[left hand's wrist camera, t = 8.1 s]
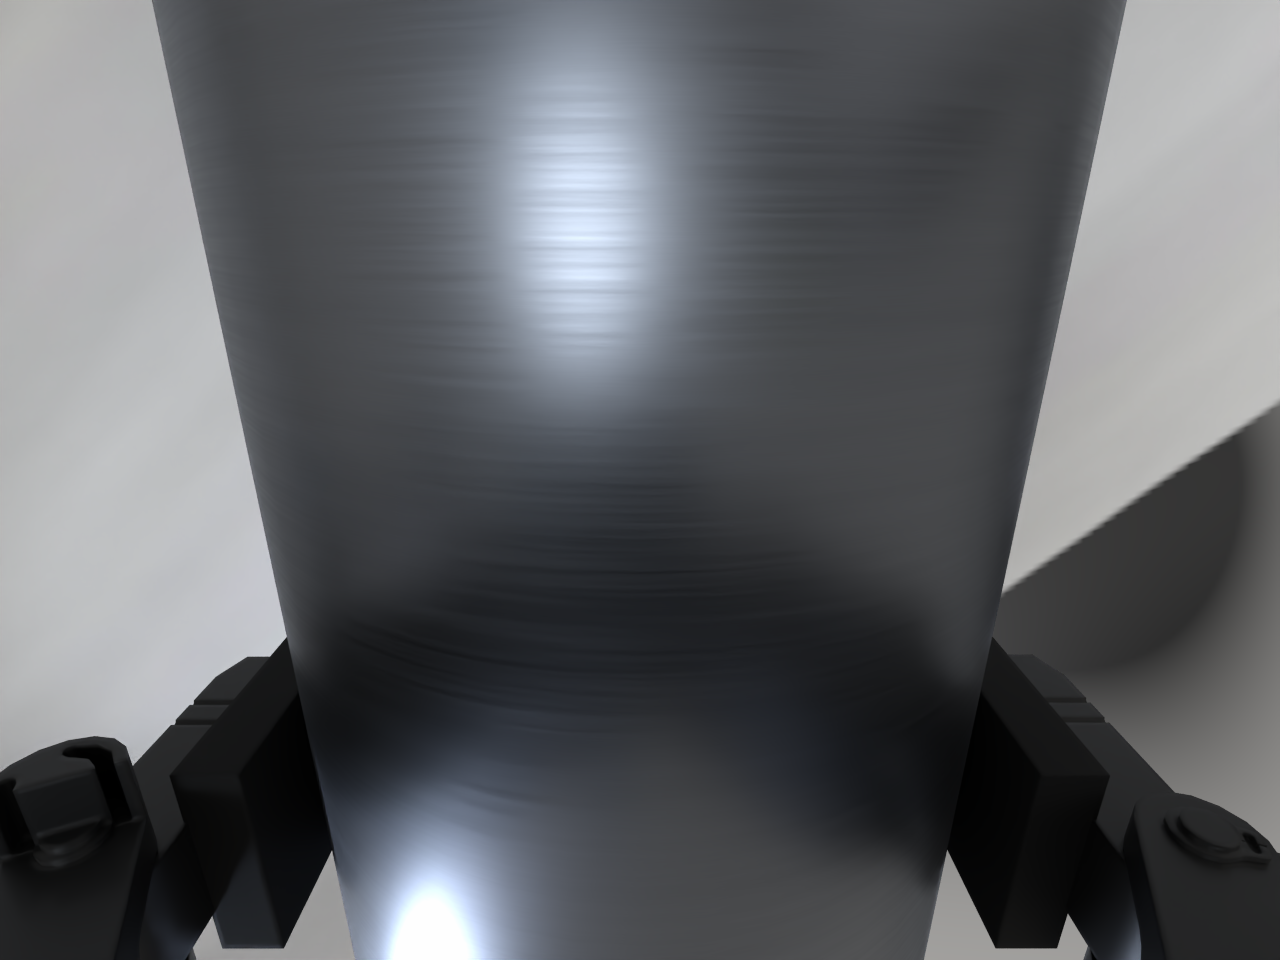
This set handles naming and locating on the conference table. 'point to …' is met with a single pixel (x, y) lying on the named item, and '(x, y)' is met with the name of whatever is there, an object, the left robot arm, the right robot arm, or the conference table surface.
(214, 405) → the conference table surface
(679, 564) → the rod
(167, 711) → the conference table surface
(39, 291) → the conference table surface
